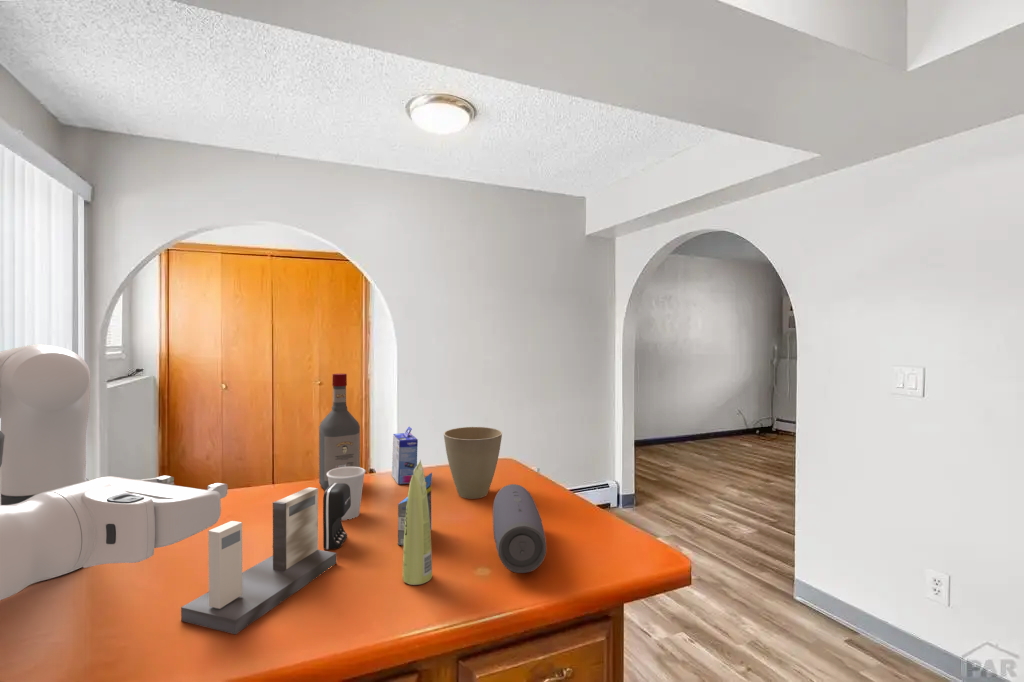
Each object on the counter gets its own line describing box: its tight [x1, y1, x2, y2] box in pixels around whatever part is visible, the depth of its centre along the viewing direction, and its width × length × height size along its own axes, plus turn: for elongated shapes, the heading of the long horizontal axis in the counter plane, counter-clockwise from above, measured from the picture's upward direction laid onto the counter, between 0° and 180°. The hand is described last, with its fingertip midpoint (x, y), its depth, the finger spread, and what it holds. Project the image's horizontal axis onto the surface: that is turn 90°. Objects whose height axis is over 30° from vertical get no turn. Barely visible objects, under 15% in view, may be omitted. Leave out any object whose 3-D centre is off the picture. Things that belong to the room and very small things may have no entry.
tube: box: [402, 459, 433, 586], centre depth 86 cm, size 6×5×20 cm
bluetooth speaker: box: [492, 483, 547, 574], centre depth 97 cm, size 23×9×10 cm, turn 4°
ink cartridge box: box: [391, 426, 419, 485], centre depth 141 cm, size 10×6×14 cm, turn 24°
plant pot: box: [443, 426, 503, 500], centre depth 129 cm, size 15×15×16 cm
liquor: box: [318, 373, 361, 491], centre depth 134 cm, size 9×9×30 cm
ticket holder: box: [180, 486, 337, 635], centre depth 82 cm, size 22×10×13 cm, turn 162°
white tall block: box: [207, 520, 243, 609], centre depth 74 cm, size 4×2×11 cm, turn 162°
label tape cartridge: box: [397, 472, 433, 547], centre depth 102 cm, size 9×4×12 cm, turn 168°
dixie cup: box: [326, 467, 366, 521], centre depth 114 cm, size 8×8×10 cm
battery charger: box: [322, 483, 351, 551], centre depth 99 cm, size 7×4×11 cm, turn 3°
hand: (196, 485), depth 69 cm, fingers open, 8 cm apart
